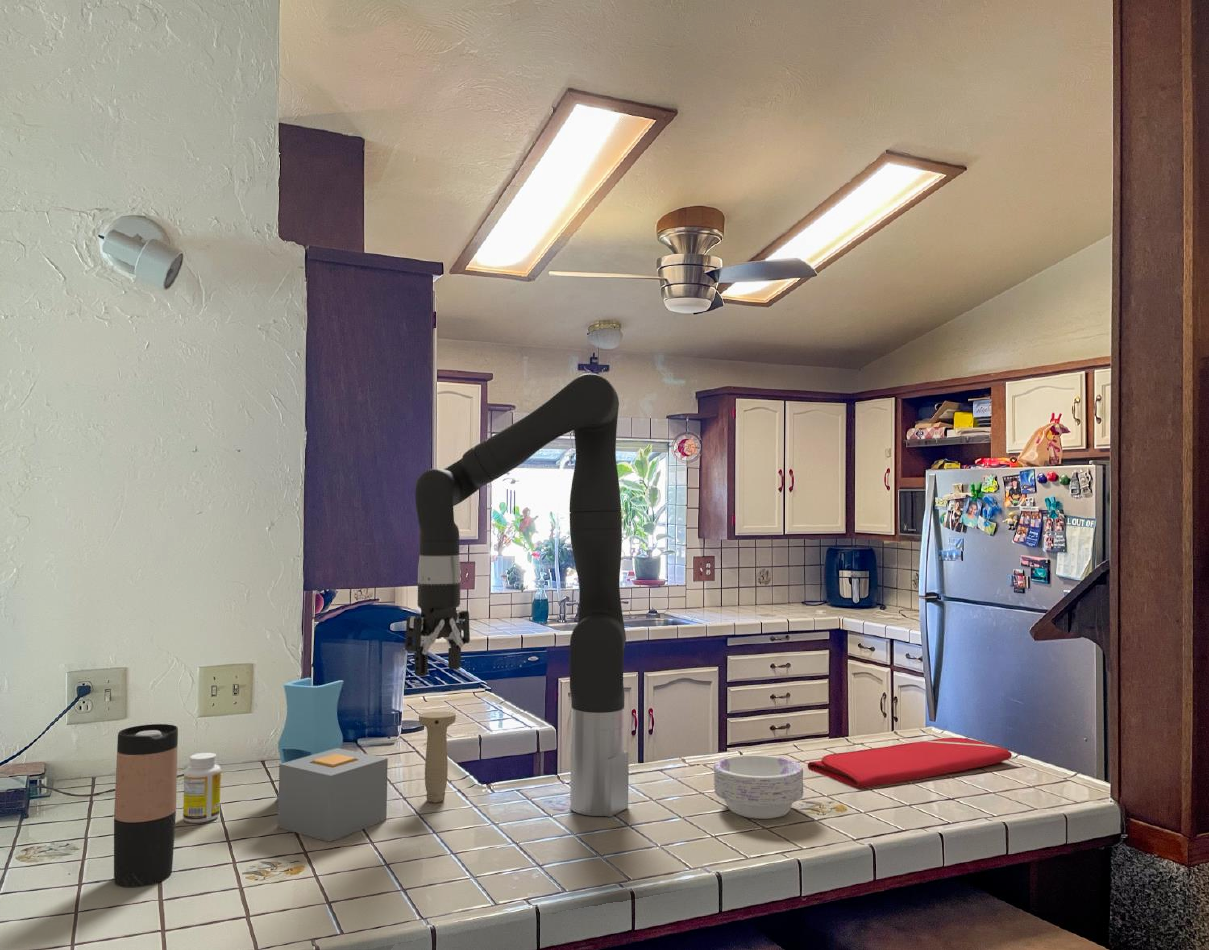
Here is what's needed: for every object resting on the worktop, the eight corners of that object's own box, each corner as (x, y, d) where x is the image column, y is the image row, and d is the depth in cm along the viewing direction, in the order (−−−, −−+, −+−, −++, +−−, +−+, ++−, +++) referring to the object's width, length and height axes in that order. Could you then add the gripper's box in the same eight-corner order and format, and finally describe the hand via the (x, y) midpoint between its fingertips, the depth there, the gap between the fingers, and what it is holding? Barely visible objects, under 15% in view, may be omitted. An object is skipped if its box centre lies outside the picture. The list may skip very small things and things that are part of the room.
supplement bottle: (213, 810, 150) (215, 749, 151) (224, 818, 146) (226, 756, 147) (178, 817, 147) (180, 754, 147) (188, 826, 143) (190, 761, 143)
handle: (453, 804, 155) (455, 717, 156) (416, 805, 154) (417, 717, 155) (454, 795, 160) (455, 711, 161) (418, 796, 159) (419, 711, 160)
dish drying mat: (805, 770, 180) (805, 751, 180) (954, 749, 197) (954, 732, 198) (859, 792, 166) (859, 772, 166) (1014, 767, 183) (1014, 749, 183)
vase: (341, 791, 162) (344, 680, 163) (314, 804, 154) (317, 687, 155) (305, 786, 164) (308, 677, 165) (276, 799, 157) (279, 684, 158)
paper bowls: (702, 799, 159) (702, 754, 159) (781, 795, 162) (781, 751, 162) (731, 828, 144) (731, 779, 144) (818, 823, 147) (818, 774, 148)
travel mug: (126, 866, 126) (132, 723, 127) (182, 865, 127) (187, 723, 128) (101, 888, 118) (106, 737, 119) (160, 887, 119) (165, 736, 120)
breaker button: (355, 782, 146) (355, 757, 146) (332, 790, 142) (333, 764, 142) (335, 777, 148) (335, 753, 148) (311, 785, 144) (312, 760, 144)
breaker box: (386, 819, 147) (387, 758, 147) (329, 841, 136) (330, 775, 137) (335, 806, 153) (337, 747, 153) (277, 827, 143) (279, 763, 143)
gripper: (427, 583, 151) (426, 680, 150) (481, 579, 163) (480, 668, 162) (395, 582, 155) (393, 676, 154) (449, 577, 167) (449, 665, 166)
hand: (438, 672), depth 158 cm, fingers open, 8 cm apart
